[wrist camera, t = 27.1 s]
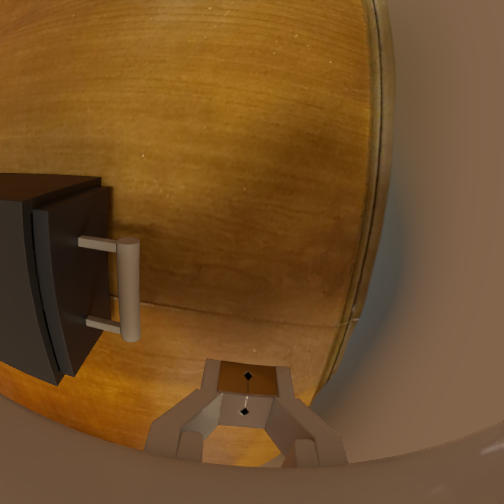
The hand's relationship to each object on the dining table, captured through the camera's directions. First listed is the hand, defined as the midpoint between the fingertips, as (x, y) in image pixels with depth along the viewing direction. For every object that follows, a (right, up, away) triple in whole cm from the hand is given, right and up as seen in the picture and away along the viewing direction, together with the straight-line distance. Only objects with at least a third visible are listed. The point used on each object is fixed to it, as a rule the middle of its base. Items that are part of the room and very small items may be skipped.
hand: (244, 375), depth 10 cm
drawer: (-16, +5, +11) cm, 19 cm away
